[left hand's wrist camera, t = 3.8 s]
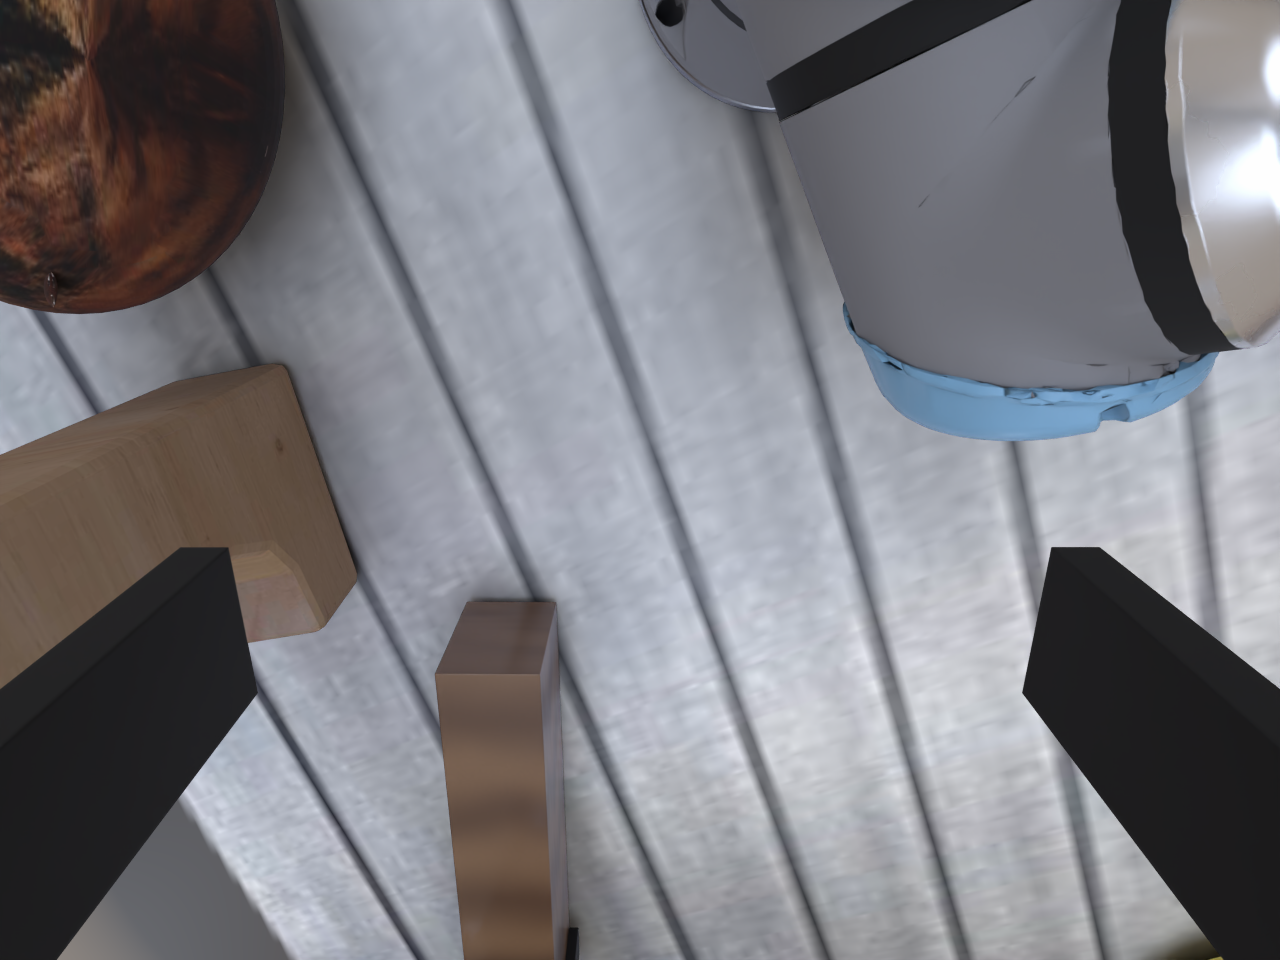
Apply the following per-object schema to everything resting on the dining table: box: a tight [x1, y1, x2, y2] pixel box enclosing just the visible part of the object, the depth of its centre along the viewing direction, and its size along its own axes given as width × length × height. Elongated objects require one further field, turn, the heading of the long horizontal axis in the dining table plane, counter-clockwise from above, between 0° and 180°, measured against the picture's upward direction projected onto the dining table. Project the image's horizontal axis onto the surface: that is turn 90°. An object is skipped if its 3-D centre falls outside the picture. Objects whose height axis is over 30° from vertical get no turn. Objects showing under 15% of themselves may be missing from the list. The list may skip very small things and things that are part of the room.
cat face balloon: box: [0, 0, 285, 314], centre depth 35 cm, size 22×18×20 cm
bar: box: [435, 602, 570, 960], centre depth 54 cm, size 33×6×8 cm, turn 0°
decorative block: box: [0, 364, 357, 689], centre depth 36 cm, size 8×15×30 cm, turn 10°
